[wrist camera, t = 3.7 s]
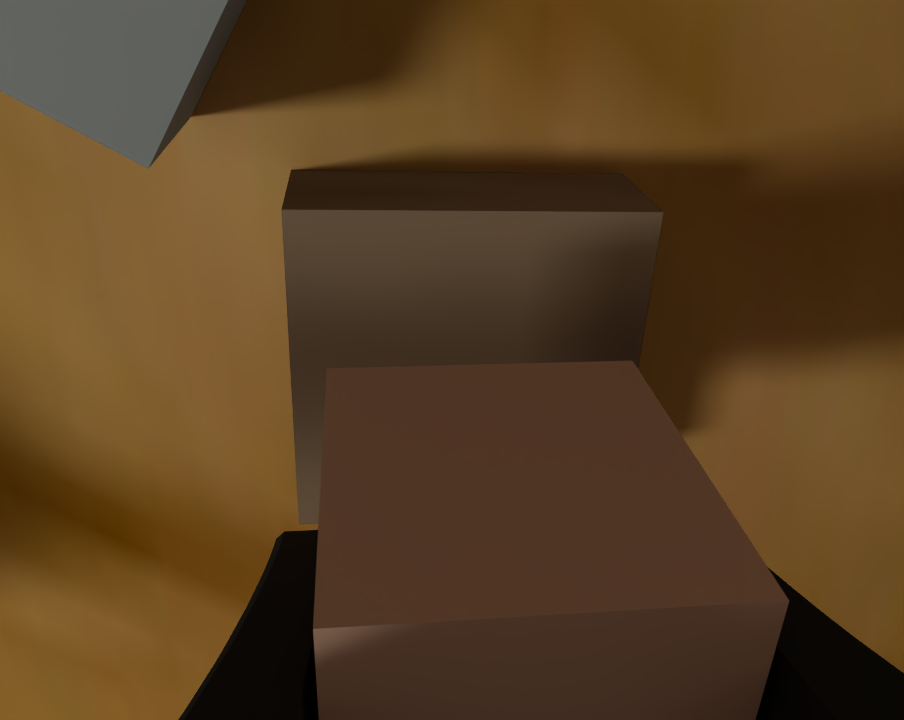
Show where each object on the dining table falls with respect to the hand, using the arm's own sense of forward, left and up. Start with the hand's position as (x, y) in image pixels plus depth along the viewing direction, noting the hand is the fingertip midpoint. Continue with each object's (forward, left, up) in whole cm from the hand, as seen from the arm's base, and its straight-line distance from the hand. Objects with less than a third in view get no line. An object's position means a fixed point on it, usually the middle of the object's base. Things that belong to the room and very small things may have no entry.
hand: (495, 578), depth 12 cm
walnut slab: (0, 0, -9) cm, 9 cm away
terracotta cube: (0, 0, -2) cm, 2 cm away
